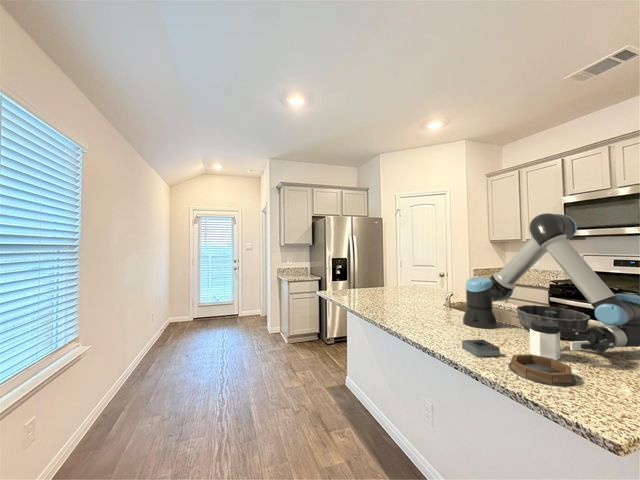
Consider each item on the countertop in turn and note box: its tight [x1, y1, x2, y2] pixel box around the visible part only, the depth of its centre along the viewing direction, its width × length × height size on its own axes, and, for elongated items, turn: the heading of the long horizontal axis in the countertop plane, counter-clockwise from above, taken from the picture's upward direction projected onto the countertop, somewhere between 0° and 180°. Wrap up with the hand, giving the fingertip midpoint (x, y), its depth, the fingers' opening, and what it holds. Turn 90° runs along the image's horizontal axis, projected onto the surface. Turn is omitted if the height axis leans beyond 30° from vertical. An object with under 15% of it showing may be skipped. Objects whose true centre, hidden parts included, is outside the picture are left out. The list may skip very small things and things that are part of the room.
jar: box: [529, 321, 561, 361], centre depth 102 cm, size 9×8×12 cm
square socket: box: [461, 339, 501, 358], centre depth 106 cm, size 9×9×3 cm
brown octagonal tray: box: [508, 353, 577, 387], centre depth 89 cm, size 17×17×3 cm
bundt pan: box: [515, 304, 591, 340], centre depth 128 cm, size 26×26×10 cm
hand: (552, 339), depth 101 cm, fingers open, 13 cm apart
